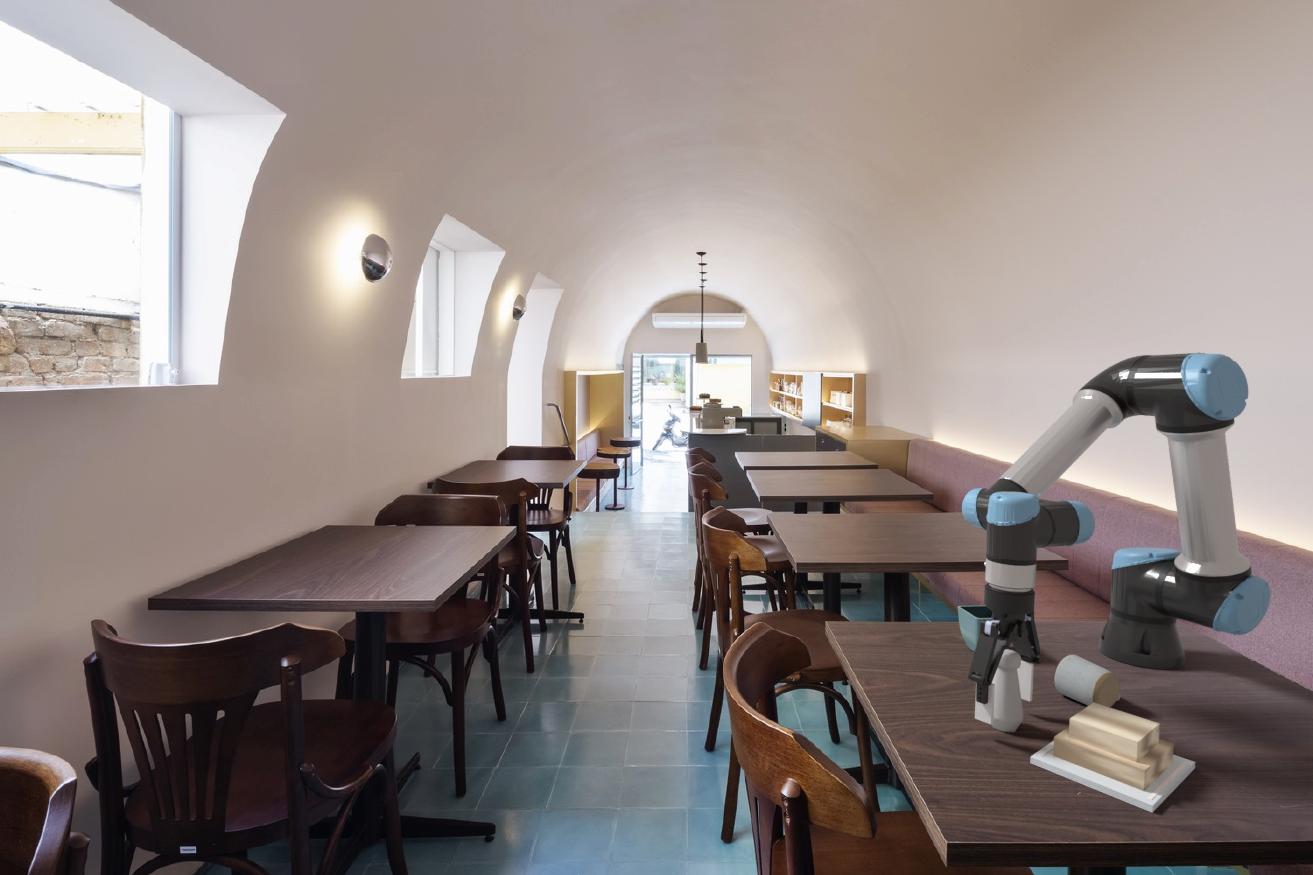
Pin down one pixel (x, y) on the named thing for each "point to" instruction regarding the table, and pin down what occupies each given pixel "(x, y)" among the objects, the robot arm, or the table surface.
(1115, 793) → the board
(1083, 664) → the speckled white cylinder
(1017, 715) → the salt shaker
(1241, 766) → the table surface
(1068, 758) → the birch plinth
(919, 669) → the table surface
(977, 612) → the flower pot
